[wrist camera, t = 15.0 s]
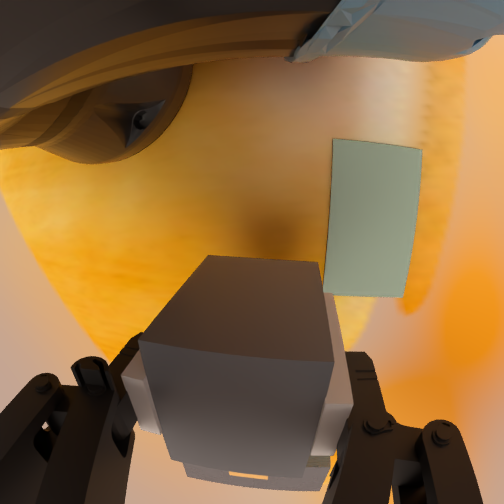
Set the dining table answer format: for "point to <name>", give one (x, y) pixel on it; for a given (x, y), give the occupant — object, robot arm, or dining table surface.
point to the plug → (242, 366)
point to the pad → (371, 218)
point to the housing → (309, 482)
